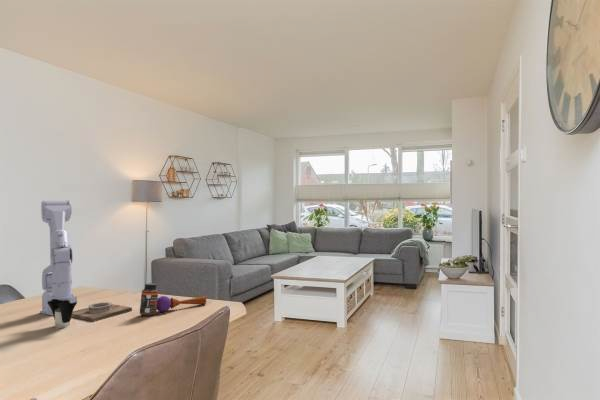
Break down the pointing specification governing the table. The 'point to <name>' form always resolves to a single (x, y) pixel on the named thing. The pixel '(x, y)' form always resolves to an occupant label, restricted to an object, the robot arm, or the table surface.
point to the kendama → (176, 302)
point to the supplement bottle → (149, 299)
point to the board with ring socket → (100, 311)
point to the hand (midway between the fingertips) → (62, 321)
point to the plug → (59, 319)
